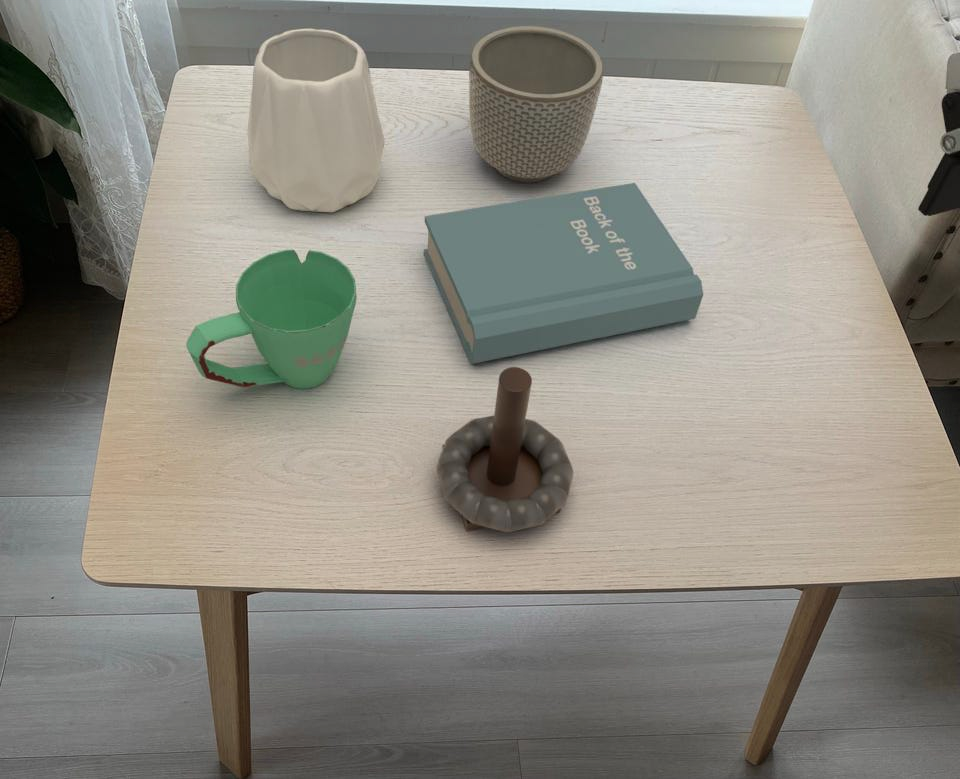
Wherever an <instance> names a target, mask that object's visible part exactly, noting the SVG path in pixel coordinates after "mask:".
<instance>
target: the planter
mask: <svg viewBox="0 0 960 779" xmlns="http://www.w3.org/2000/svg"><path fill="white" fill-rule="evenodd" d="M603 62H604V61H603V60H602V58H601V56H600V55H599V53H598V51H597V50H596V49H594V48H593V47H592V46H591V45H590V44H589V43H587V42H586V41H584V40H583V39H581V38H579V37H577V36H576V35H573V34H571V33H569V32H567V31H566V32H565V31H562V30H559V29H556V28H550V27H545V26H534V25H519V26H511V27H506V28H501V29H498V30H495V31H492V32H491V33H489V34H486V35H485V36H483V37H482V38H481V39H479V40H478V42H477V43H475V44H474V46H473V48H472V50H471V54H470V58H469V62H468V63H469V66H468V67H469V68H468V92H469V93H468V95H469V96H468V100H469V101H468V103H469V104H468V106H469V107H468V108H469V123H470V132H471V137H472V140H473V144H474V147H475V149H476V151H477V153H478V154H479V156H480V157H481V158H482V159H483V160H484V161H485V162H486V163H487V164H488V165H489V166H491V167H492V168H493V169H495V170H496V171H497V172H498V173H499V174H500V175H501V176H503V177H505V178H506V179H508V180H511V181H513V182H518V183H527V184H529V183H538V182H541V181H544V180H546V179H548V178H550V177H551V176H554V175H557V174H559V173H561V172H563V171H564V170H566V169H567V168H569V167H570V166H571V165H572V164H573V163H575V161H576V160H577V158H578V157H579V155H580V154H581V153H582V150H583V149H584V145H585V143H586V141H587V139H588V136H589V133H590V130H591V126H592V123H593V121H594V120H593V119H594V116H595V112H596V108H597V105H598V102H599V98H600V94H601V89H602V86H603V80H604V71H605V70H604V63H603Z"/></svg>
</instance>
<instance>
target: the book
mask: <svg viewBox="0 0 960 779" xmlns="http://www.w3.org/2000/svg"><path fill="white" fill-rule="evenodd" d="M424 224H425V226H426V228H427V230H428V232H427V248H424V249H423V257H424V259H425V262H426V264H427V266H428V268H429V271H430V273H431V275H432V278H433V280H434V283H435V285H436V287H437V290H438V292H439V294H440V296H441V299H442V301H443V304H444V306H445V308H446V311H447V313H448V315H449V318H450V320H451V322H452V325H453V328H454V329H455V333H456V334H457V336H458V339H459V341H460V344H461V345H462V348H463V350H465V355H466V358H467V360H468V362H469V363H470V364H479V363H483V362H487V361H493V360H498V359H502V358H508V357H512V356H518V355H522V354H528V353H532V352H537V351H542V350H547V349H551V348H556V347H561V346H567V345H571V344H577V343H581V342H587V341H591V340H592V341H593V340H596V339H601V338H606V337H610V336H615V335H622V334H626V333H631V332H635V331H641V330H645V329H646V330H647V329H650V328H651V329H652V328H655V327H661V326H664V325H669V324H675V323H680V322H685V321H690V320H695V319H696V318H697V315H698V311H699V310H700V306H701V303H702V300H703V298H704V289H703V283H702V280H701V278H700V277H699V275H698V274H694V273H695V272H694V268H693V266H692V265H691V263H690V262H689V260H688V259H687V258H686V255H685V254H684V253H683V251H682V250H681V249H680V247H679V246H678V244H677V243H676V241H675V240H674V238H673V237H672V236H671V234H670V232H669V231H668V230H667V228H666V227H665V224H663V222H662V221H661V219H660V217H659V216H658V214H657V213H656V212H655V210H654V209H653V207H652V206H651V203H649V201H648V200H647V198H646V197H645V195H644V194H643V192H642V191H641V189H640V188H639V187H638V185H637V184H636V182H632V183H625V184H619V185H613V186H605V187H600V188H593V189H587V190H581V191H575V192H569V193H568V192H567V193H561V194H556V195H550V196H543V197H537V198H536V197H535V198H530V199H524V200H518V201H511V202H506V203H499V204H493V205H486V206H480V207H474V208H467V209H462V210H456V211H448V212H442V213H436V214H430V215H425V216H424Z"/></svg>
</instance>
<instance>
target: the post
mask: <svg viewBox="0 0 960 779" xmlns="http://www.w3.org/2000/svg"><path fill="white" fill-rule="evenodd" d="M532 384H533V379H532V376H531V374H530V373H529V372H528V371H527V370H525V369H524V368H521V367H518V366H512V367H511V366H510V367H507V368H505V369H504V370H502V371H501V372H500V374H499V376H498V384H497V392H496V397H495V399H496V400H495V405H494V406H495V408H494V414H493V416H494V421H493V429H492V436H491V444H490V445H489V446H484V447H483V448H481V449H480V450H479V451H478V452H476V453H475V454H474V455H472V456H471V459H470V462H469V465H468V468H467V470H468V473H469V476H470V479H471V482H472V484H474V485H475V486H476V487H477V488H478V489H479V490H481V491H482V492H483V493H484V494H485V495H487V496H491V497H495V498H499V499H503V500H507V501H508V500H513V499H518V498H522V497H527V496H528V495H530V494H531V493H532V492H533V491H534V490H535V489H537V488H538V487H539V486H540V482H541V478H542V475H543V472H542V469H541V467H540V464H539V462H538V459H537V458H535V457H534V456H533V455H532V454H530V453H529V452H528V451H527V450H525V449H524V448H522V447H521V442H522V436H523V431H524V425H525V419H527V412H528V406H529V402H530V395H531V389H532ZM443 447H444V444H442V446H441V451H442V450H443ZM561 511H562V507H561V508H560V509H559V510H558V511H557V512H555V513H554V514H559V513H561ZM460 515H461V519H462V522H463V525H464V529H465V531H466V532H470V531H471V532H472V531H475V530H480V529H485V528H487V527H484V526H480V525H476V524H473V523H471V522H470V521H468V520H467V519H466V518H465V517H464V516H463V515H462V514H460Z"/></svg>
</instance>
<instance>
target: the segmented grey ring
mask: <svg viewBox="0 0 960 779" xmlns="http://www.w3.org/2000/svg"><path fill="white" fill-rule="evenodd" d="M493 421H494V415H488V416H483V417H478V418H473V419H471V420H469V421H468V422H466V423H465V424H464V425H462V426H461V427H460V428H458V429H457V430H456V431H455V432H453V433H452V434H451V435H449V436H448V437H447V438H446V440H445V442H444V444H443V445H444V447H443V450H442V449H441V453H440V456H439V459H438V462H437V465H436V473H437V478H438V481H439V483H440V488H441V490H442V493H443V497H444V499H445V501H446V502H447V503H448V504H449V505H450V506H451V507H452V508H453V509H455V510H456V512H458V513H459V514H460V515H461V514H462V515H463V516H464V517H465V518H466V519H467V520H468V521H470V522H471V523H473V524H476V525H480V526H484V527H486V528H488V529H493V530H496V531H500V532H502V533H503V532H504V533H509V532H515V531H520V530H524V529H529V528H534V527H535V528H536V527H538V526H541V525H543V524H544V523H545V522H547V521H548V519H550V518H551V517H552V516H553V515H555V514H556V513H555V512H557V511H558V510H559V509H560V508H561V509H562V507H564V506H565V504H566V503H567V501H568V498H569V494H570V489H571V487H572V486H571V485H572V480H573V477H574V469H573V466H572V462H571V460H570V458H569V456H568V454H567V450H566V449H565V446H564V444H563V442H562V441H561V440H560V439H559V438H558V437H557V436H555V435H554V434H553V433H552V432H550V431H549V430H548V429H547V428H545V427H544V426H543V425H541V424H540V423H539V422H538V421H535V420H532V419H529V418H526V419H525V425H524V431H523V436H522V442H521V447H522V448H524V449H525V450H527V451H528V452H529V453H530V454H532V455H533V456H534V457H535V458H537V459H538V462H539V464H540V467H541V469H542V472H543V475H542V478H541V482H540V486H539V487H538V488H537V489H535V490H534V491H533V492H532V493H531V494H530V495H528V496H527V497H522V498H518V499H513V500H508V501H507V500H503V499H499V498H495V497H491V496H487V495H485V494H484V493H483V492H482V491H481V490H479V489H478V488H477V487H476V486H475V485H474V484H472V482H471V479H470V476H469V473H468V470H467V468H468V465H469V462H470V459H471V456H472V455H474V454H475V453H476V452H478V451H479V450H480V449H481V448H483V447H484V446H489V445H490V444H491V436H492V429H493Z"/></svg>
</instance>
